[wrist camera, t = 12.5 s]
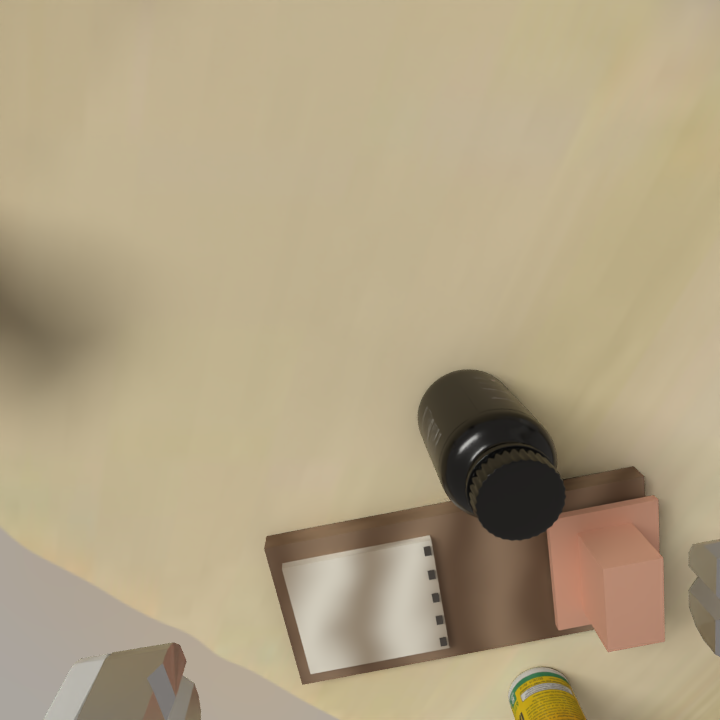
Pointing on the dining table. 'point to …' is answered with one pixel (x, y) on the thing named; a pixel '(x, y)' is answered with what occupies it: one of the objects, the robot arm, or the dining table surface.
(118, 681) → the robot arm
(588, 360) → the dining table surface
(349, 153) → the dining table surface
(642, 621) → the stub
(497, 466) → the supplement bottle
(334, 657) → the ticket board
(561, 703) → the supplement bottle
